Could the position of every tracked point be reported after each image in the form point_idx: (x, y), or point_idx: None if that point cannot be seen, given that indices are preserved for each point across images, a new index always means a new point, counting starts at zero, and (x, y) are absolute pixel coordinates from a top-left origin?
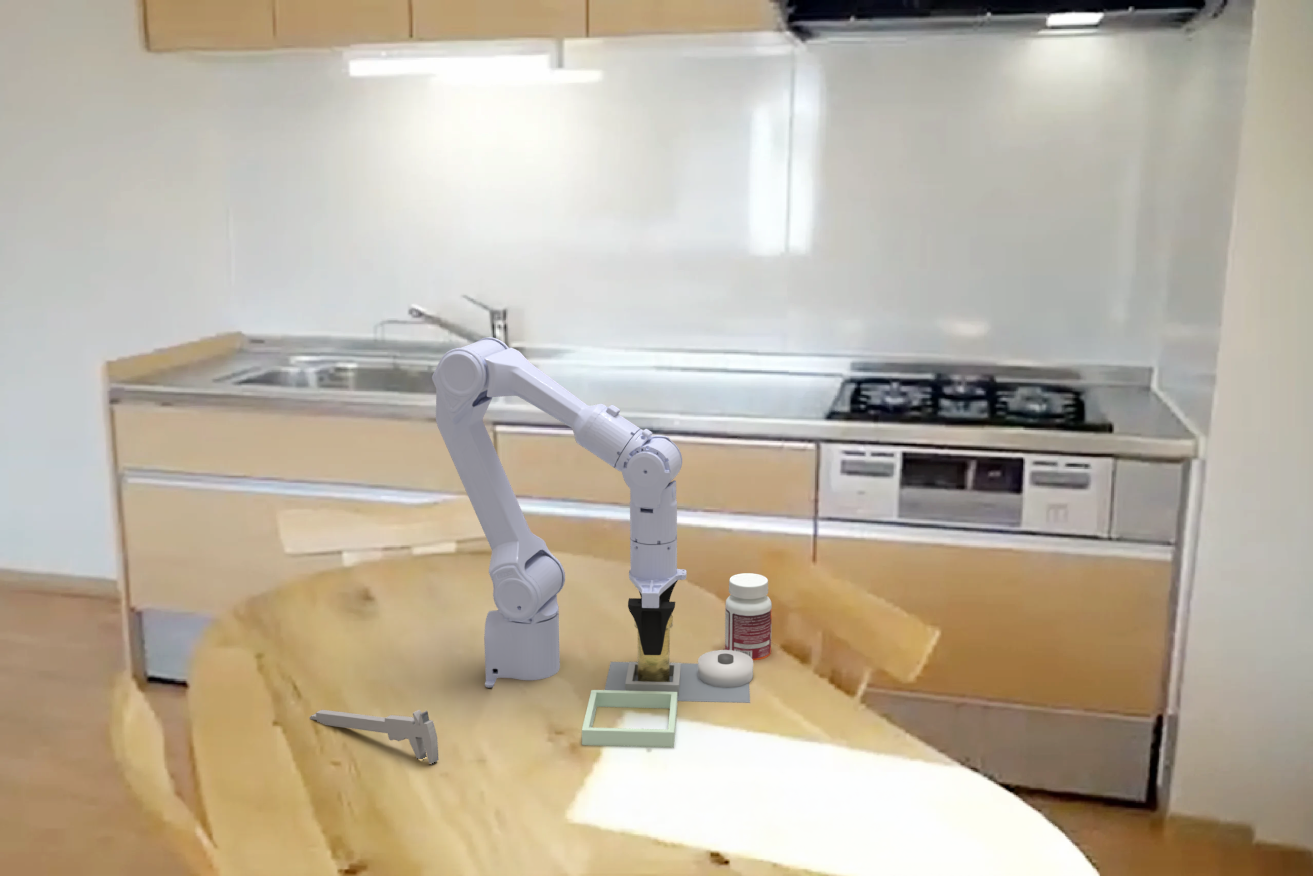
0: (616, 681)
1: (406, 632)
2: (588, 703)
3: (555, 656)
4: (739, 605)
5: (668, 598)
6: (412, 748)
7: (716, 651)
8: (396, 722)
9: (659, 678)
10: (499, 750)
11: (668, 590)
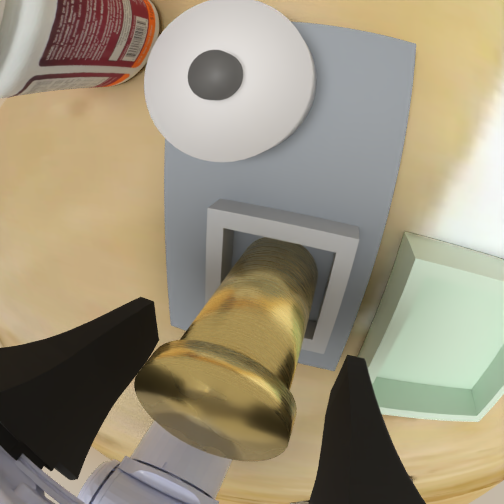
0: None
1: (130, 437)
2: (400, 416)
3: None
4: (18, 44)
5: (69, 363)
6: None
7: (152, 103)
8: None
9: (312, 284)
10: (412, 449)
11: (46, 388)
